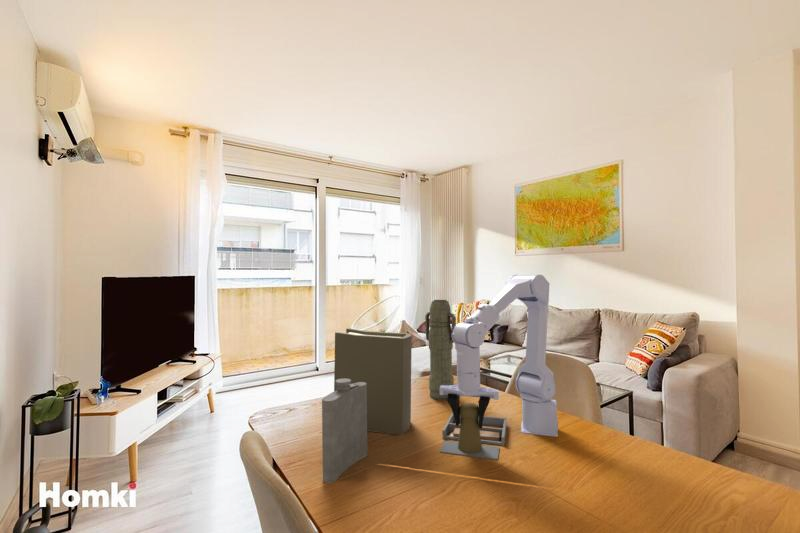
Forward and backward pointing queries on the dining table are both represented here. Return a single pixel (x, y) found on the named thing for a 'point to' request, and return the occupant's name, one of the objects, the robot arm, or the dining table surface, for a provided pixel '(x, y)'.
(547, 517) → the dining table surface
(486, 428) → the rack
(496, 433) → the top offcut
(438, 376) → the thermos
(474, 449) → the cork
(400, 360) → the book
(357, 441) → the hip flask
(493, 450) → the slate mat
